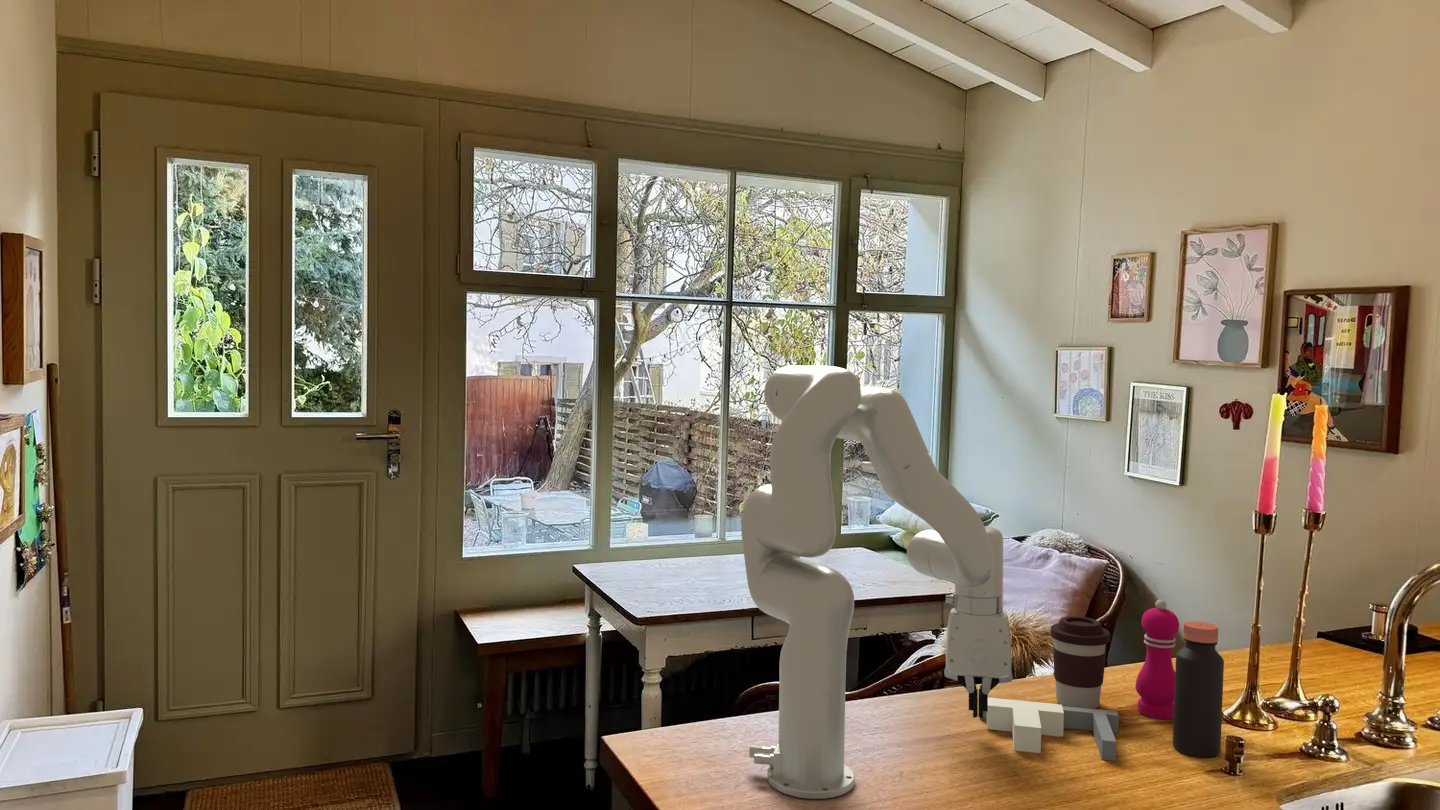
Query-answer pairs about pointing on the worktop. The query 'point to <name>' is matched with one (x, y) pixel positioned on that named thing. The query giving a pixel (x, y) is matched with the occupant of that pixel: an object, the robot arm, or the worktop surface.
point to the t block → (1025, 721)
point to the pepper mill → (1158, 663)
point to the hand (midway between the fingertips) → (978, 714)
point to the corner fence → (1092, 727)
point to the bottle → (1198, 692)
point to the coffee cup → (1079, 661)
